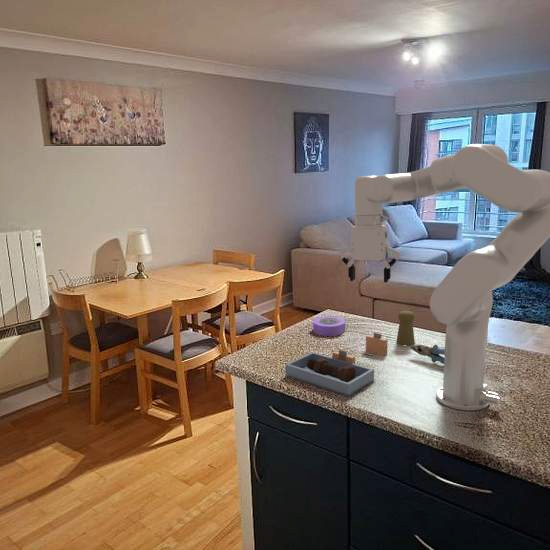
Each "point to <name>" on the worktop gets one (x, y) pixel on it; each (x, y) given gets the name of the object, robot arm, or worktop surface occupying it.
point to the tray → (304, 374)
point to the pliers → (430, 352)
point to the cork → (406, 328)
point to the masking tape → (329, 326)
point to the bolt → (332, 369)
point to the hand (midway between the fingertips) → (369, 280)
